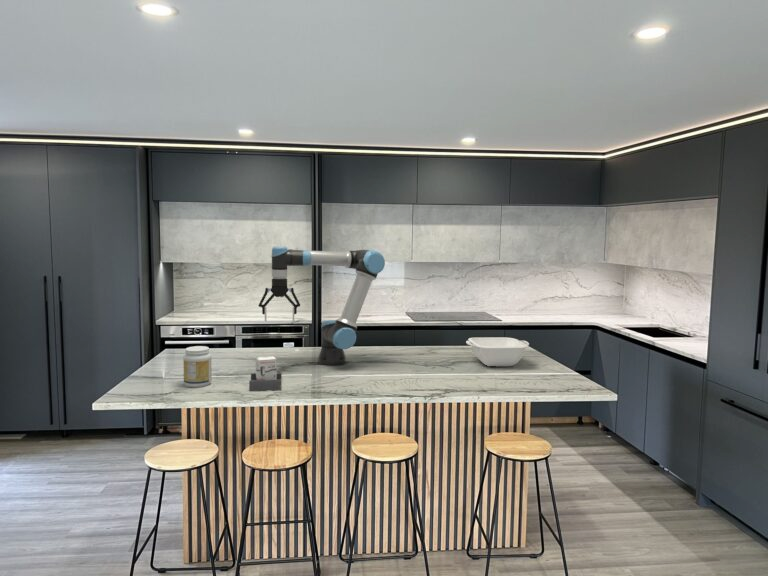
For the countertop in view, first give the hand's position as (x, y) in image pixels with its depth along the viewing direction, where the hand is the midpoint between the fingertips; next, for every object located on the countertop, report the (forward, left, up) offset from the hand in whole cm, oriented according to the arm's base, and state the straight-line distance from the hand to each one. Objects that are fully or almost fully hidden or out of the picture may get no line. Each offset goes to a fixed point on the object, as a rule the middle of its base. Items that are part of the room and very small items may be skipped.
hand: (279, 320), depth 284 cm
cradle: (+6, +23, -27) cm, 36 cm away
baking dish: (-118, -9, -27) cm, 121 cm away
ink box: (+6, +23, -25) cm, 35 cm away
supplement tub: (+37, +16, -27) cm, 49 cm away
